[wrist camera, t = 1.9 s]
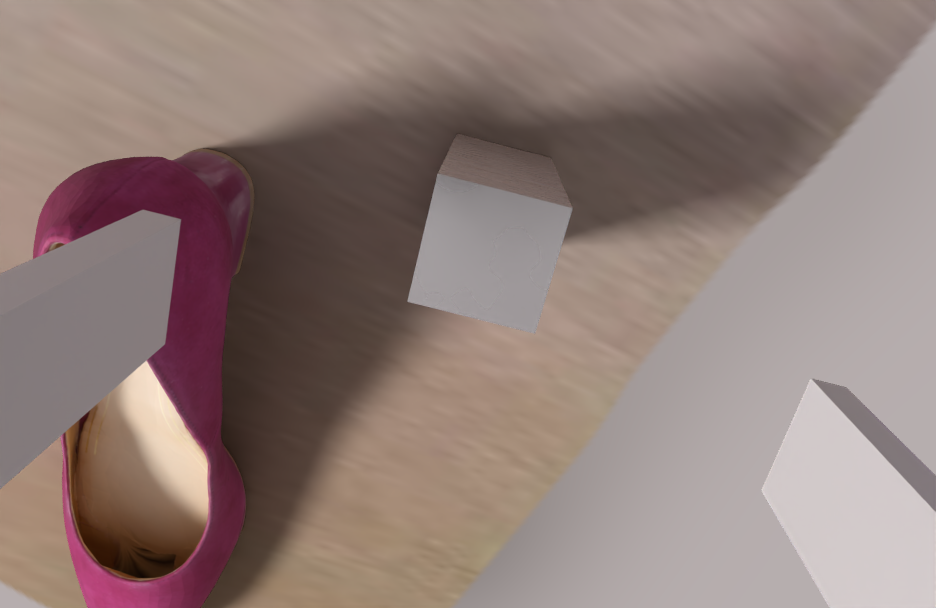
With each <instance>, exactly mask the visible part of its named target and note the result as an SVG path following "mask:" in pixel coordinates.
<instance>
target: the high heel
mask: <svg viewBox="0 0 936 608" xmlns="http://www.w3.org/2000/svg"><path fill="white" fill-rule="evenodd" d="M253 207H254V188H253V183H252V179H251V177H250V175H249V174H248V172H247V171H246V169H245V168H244V167H243V166H242V165H241V164H240V163H239V162H238V161H236V160H235V159H233V158H232V157H230V156H228V155H226V154H224V153H221V152H218V151H214V150H209V149H197V150H193V151H190V152H188V153H186V154H184V155H183V156H182V157H179V158H177V159H175V160H168V159H166V158H163V157H130V158H123V159H117V160H110V161H106V162H102V163H97V164H94V165H92V166H89V167H86V168H84V169H82V170H80V171H78V172H76V173H74V174H73V175H71V176H70V177H69V178H67V179H66V180H65V181H63V182H62V183H61V184H60V185H59V186H57V188H56V189H55V190H54V191H53V192H52V193H51V195H50V196H49V198H48V199H47V201H46V203H45V205H44V207H43V209H42V211H41V214H40V216H39V220H38V225H37V229H36V235H35V242H34V250H33V259H34V258H36V257H39V256H41V255H43V254H45V253H48V252H50V251H52V250H54V249H56V248H59V247H61V246H63V245H65V244H68V243H70V242H72V241H74V240H76V239H79V238H81V237H83V236H85V235H88V234H90V233H92V232H94V231H96V230H99V229H101V228H103V227H105V226H108V225H110V224H112V223H114V222H116V221H119V220H121V219H123V218H125V217H128V216H130V215H132V214H134V213H136V212H139V211H141V210H146V211H150V212H154V213H158V214H162V215H166V216H170V217H174V218H178V219H181V223H180V231H179V239H178V247H177V254H176V262H175V270H174V278H173V286H172V294H171V302H170V309H169V317H168V325H167V333H166V341H165V345H164V346H162V347H161V348H160V349H159V350H158V351H157V352H156V353H154V354H153V355H152V356H151V357H150V358H149V359H148V360H146V361H145V362H144V363H143V364H142V365H141V366H140V367H138V368H137V369H136V370H135V371H134V372H133V373H132V374H131V375H129V376H128V377H127V378H126V379H125V380H124V381H123V382H121V383H120V384H119V385H118V386H117V387H116V388H115V389H113V390H112V391H111V392H110V393H109V394H108V395H107V396H105V397H104V398H103V399H102V400H101V401H100V402H99V403H98V404H96V405H95V406H94V407H93V408H92V409H91V410H90V411H88V412H87V413H86V414H85V415H84V416H83V417H82V418H80V419H79V420H78V421H77V422H76V423H75V424H74V425H72V426H71V427H70V428H69V429H68V430H67V431H66V432H65V433H63V434H62V435H61V444H62V451H63V472H62V490H63V511H64V521H65V528H66V534H67V539H68V543H69V548H70V552H71V557H72V561H73V564H74V568H75V571H76V574H77V578H78V581H79V584H80V587H81V590H82V593H83V596H84V599H85V602H86V604H87V607H88V608H200V607H201V606H202V605H203V603H204V602H205V600H206V598H207V597H208V595H209V594H210V592H211V591H212V589H213V588H214V586H215V584H216V582H217V580H218V579H219V577H220V575H221V573H222V571H223V569H224V567H225V566H226V564H227V562H228V560H229V558H230V556H231V554H232V552H233V550H234V548H235V546H236V543H237V541H238V539H239V536H240V533H241V531H242V528H243V524H244V519H245V512H246V495H245V489H244V485H243V480H242V477H241V474H240V472H239V469H238V467H237V465H236V463H235V461H234V459H233V458H232V456H231V455H230V453H229V452H228V450H227V449H226V447H225V446H224V445H223V443H222V439H221V422H222V402H223V401H222V358H223V348H224V340H225V328H226V317H227V308H228V299H229V291H230V285H231V279H232V277H233V276H234V275H235V274H238V273H239V270H240V267H241V263H242V259H243V255H244V251H245V247H246V243H247V239H248V235H249V230H250V225H251V219H252V215H253Z"/></svg>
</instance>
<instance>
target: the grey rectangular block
mask: <svg viewBox="0 0 936 608" xmlns="http://www.w3.org/2000/svg"><path fill="white" fill-rule="evenodd" d="M572 209H573V207H572V205H571V203H570V201H569V198H568V196H567V194H566V191H565V189H564V187H563V184H562V182H561V180H560V177H559V175H558V173H557V171H556V168H555V166H554V164H553V161H552V159H551V158H550V157H546V156H542V155H538V154H534V153H531V152H527V151H523V150H519V149H515V148H511V147H507V146H504V145H500V144H496V143H492V142H488V141H484V140H481V139H477V138H473V137H469V136H465V135H461V134H458V133H457V134H456V136H455V138H454V141H453V143H452V145H451V147H450V149H449V151H448V153H447V155H446V157H445V159H444V161H443V163H442V166H441V168H440V170H439V172H438V174H437V178H436V183H435V187H434V191H433V195H432V200H431V204H430V208H429V212H428V216H427V221H426V225H425V229H424V233H423V237H422V242H421V246H420V250H419V254H418V259H417V263H416V267H415V271H414V275H413V280H412V284H411V288H410V292H409V297H408V301H407V302H411V303H415V304H419V305H423V306H427V307H431V308H435V309H439V310H443V311H447V312H451V313H455V314H459V315H463V316H467V317H471V318H475V319H479V320H483V321H487V322H491V323H495V324H499V325H503V326H507V327H511V328H515V329H519V330H523V331H527V332H531V333H535V332H536V328H537V325H538V322H539V319H540V315H541V312H542V309H543V305H544V302H545V299H546V295H547V292H548V289H549V285H550V282H551V279H552V276H553V272H554V269H555V266H556V262H557V259H558V256H559V252H560V249H561V246H562V242H563V239H564V236H565V233H566V229H567V226H568V223H569V219H570V216H571V213H572Z"/></svg>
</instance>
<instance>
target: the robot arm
mask: <svg viewBox="0 0 936 608" xmlns="http://www.w3.org/2000/svg"><path fill="white" fill-rule="evenodd" d="M180 223H181V219H178V218H174V217H170V216H166V215H162V214H158V213H154V212H150V211H146V210H141V211H139V212H136V213H134V214H132V215H130V216H128V217H125V218H123V219H121V220H119V221H116V222H114V223H112V224H110V225H108V226H105V227H103V228H101V229H99V230H96V231H94V232H92V233H90V234H88V235H85V236H83V237H81V238H79V239H76V240H74V241H72V242H70V243H68V244H65V245H63V246H61V247H59V248H56V249H54V250H52V251H50V252H48V253H45V254H43V255H41V256H39V257H36V258H34V259H32V260H30V261H28V262H25V263H23V264H21V265H19V266H16V267H14V268H12V269H10V270H8V271H5V272H3V273H1V274H0V489H1V488H2V487H3V486H4V485H5V484H6V483H8V482H9V481H10V480H11V479H12V478H13V477H14V476H16V475H17V474H18V473H19V472H20V471H21V470H22V469H24V468H25V467H26V466H27V465H28V464H29V463H30V462H32V461H33V460H34V459H35V458H36V457H37V456H38V455H39V454H41V453H42V452H43V451H44V450H45V449H46V448H47V447H49V446H50V445H51V444H52V443H53V442H54V441H55V440H57V439H58V438H59V437H60V436H61V435H62V434H63V433H65V432H66V431H67V430H68V429H69V428H70V427H71V426H72V425H74V424H75V423H76V422H77V421H78V420H79V419H80V418H82V417H83V416H84V415H85V414H86V413H87V412H88V411H90V410H91V409H92V408H93V407H94V406H95V405H96V404H98V403H99V402H100V401H101V400H102V399H103V398H104V397H105V396H107V395H108V394H109V393H110V392H111V391H112V390H113V389H115V388H116V387H117V386H118V385H119V384H120V383H121V382H123V381H124V380H125V379H126V378H127V377H128V376H129V375H131V374H132V373H133V372H134V371H135V370H136V369H137V368H138V367H140V366H141V365H142V364H143V363H144V362H145V361H146V360H148V359H149V358H150V357H151V356H152V355H153V354H154V353H156V352H157V351H158V350H159V349H160V348H161V347H162V346H164V345H165V341H166V333H167V325H168V317H169V309H170V302H171V294H172V286H173V278H174V270H175V262H176V254H177V247H178V239H179V231H180ZM761 491H762V493H763V494H764V496H765V498H766V500H767V502H768V503H769V505H770V507H771V508H772V510H773V512H774V513H775V515H776V517H777V518H778V520H779V522H780V524H781V525H782V527H783V529H784V530H785V532H786V534H787V535H788V537H789V539H790V541H791V543H792V544H793V546H794V547H795V549H796V551H797V553H798V554H799V556H800V558H801V560H802V561H803V563H804V565H805V566H806V568H807V570H808V572H809V573H810V575H811V577H812V578H813V580H814V582H815V583H816V585H817V587H818V589H819V590H820V592H821V594H822V595H823V597H824V599H825V601H826V602H827V604H828V606H829V607H830V608H936V476H935V474H934V473H933V472H931V470H929V468H927V467H926V466H925V465H924V464H923V463H922V462H921V461H920V460H919V459H918V458H917V457H916V456H915V455H914V454H913V453H912V452H911V451H910V450H909V449H908V448H907V447H906V446H905V445H904V444H903V443H902V442H901V441H900V440H899V439H898V438H897V437H896V436H895V435H894V434H893V433H892V432H891V431H890V430H889V429H888V428H887V427H886V426H885V425H884V424H883V423H882V422H881V421H880V420H879V419H878V418H877V417H876V416H875V415H874V414H873V413H872V412H871V411H870V410H869V409H868V408H867V407H865V405H863V404H862V403H861V401H860V400H859V399H857V398H856V397H855V396H854V395H853V394H852V393H851V392H850V391H849V390H848V389H847V388H846V387H843V386H839V385H835V384H831V383H827V382H823V381H819V380H815V379H810V381H809V384H808V386H807V388H806V390H805V393H804V395H803V397H802V399H801V402H800V404H799V406H798V409H797V411H796V413H795V416H794V418H793V420H792V422H791V424H790V427H789V429H788V431H787V433H786V436H785V438H784V440H783V442H782V445H781V447H780V449H779V451H778V454H777V456H776V458H775V461H774V463H773V465H772V467H771V470H770V472H769V474H768V476H767V479H766V481H765V483H764V486H763V488H762V490H761Z"/></svg>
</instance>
